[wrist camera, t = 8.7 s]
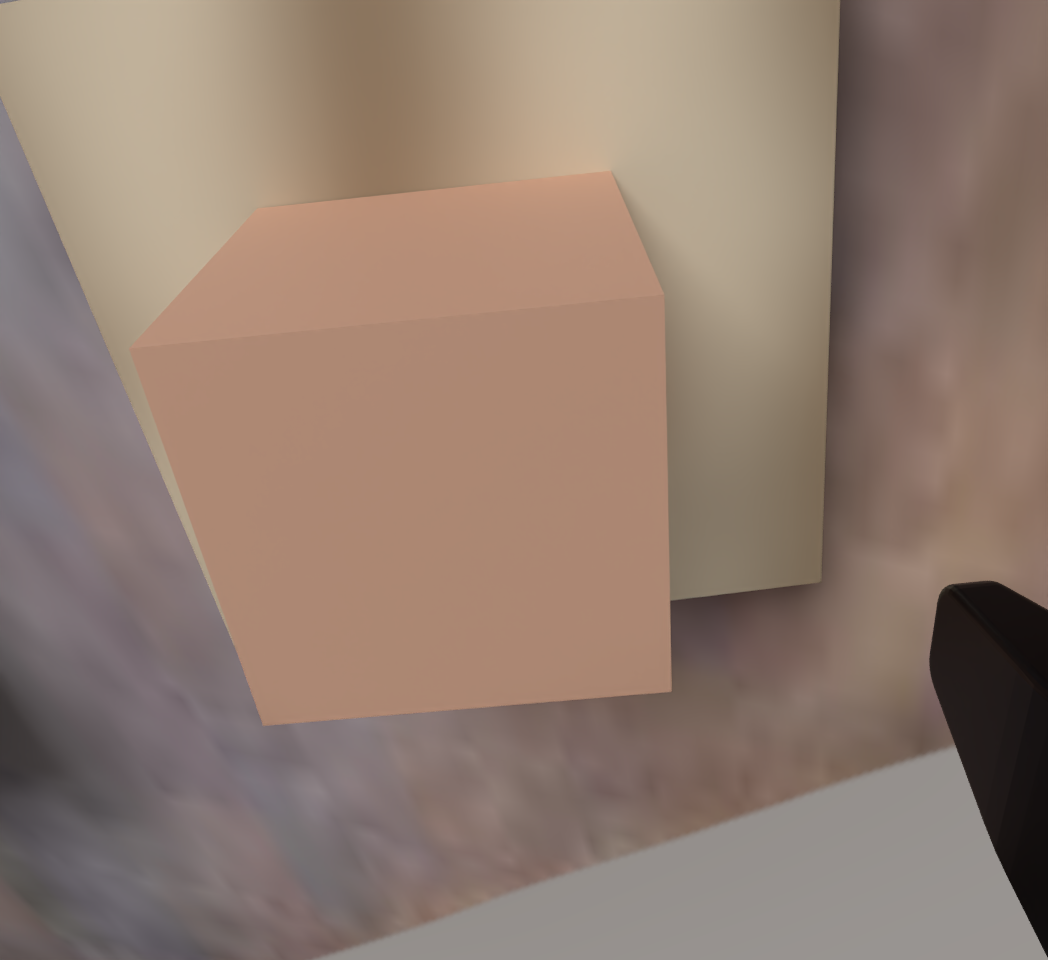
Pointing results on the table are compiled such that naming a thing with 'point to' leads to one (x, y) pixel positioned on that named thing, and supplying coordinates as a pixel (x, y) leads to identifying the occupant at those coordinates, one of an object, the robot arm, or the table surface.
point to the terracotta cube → (427, 448)
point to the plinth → (474, 159)
